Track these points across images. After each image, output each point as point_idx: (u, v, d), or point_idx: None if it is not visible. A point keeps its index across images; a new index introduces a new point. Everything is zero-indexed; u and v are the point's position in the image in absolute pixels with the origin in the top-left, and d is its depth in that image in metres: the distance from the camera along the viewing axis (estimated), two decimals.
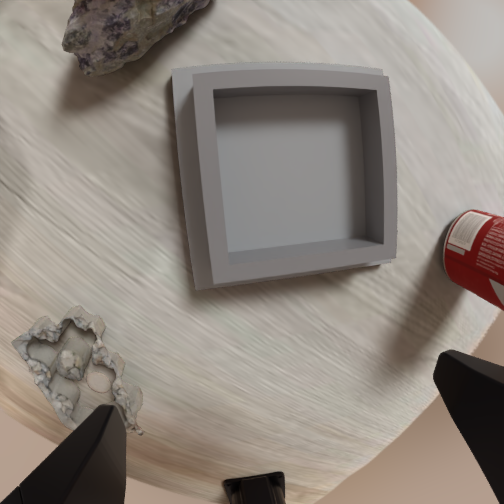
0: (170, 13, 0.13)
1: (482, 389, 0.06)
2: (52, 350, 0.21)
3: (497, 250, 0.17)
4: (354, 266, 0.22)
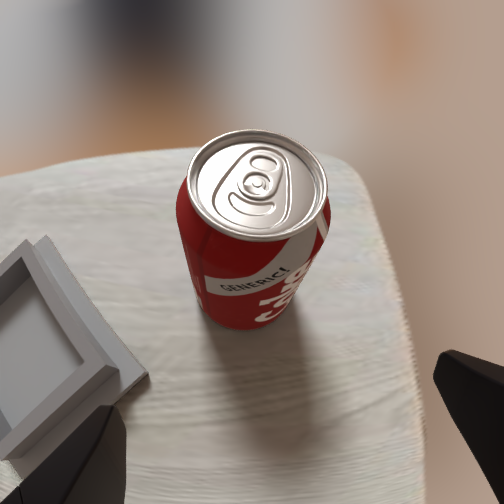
0: None
1: (482, 389, 0.06)
2: None
3: (186, 258, 0.16)
4: (110, 399, 0.17)
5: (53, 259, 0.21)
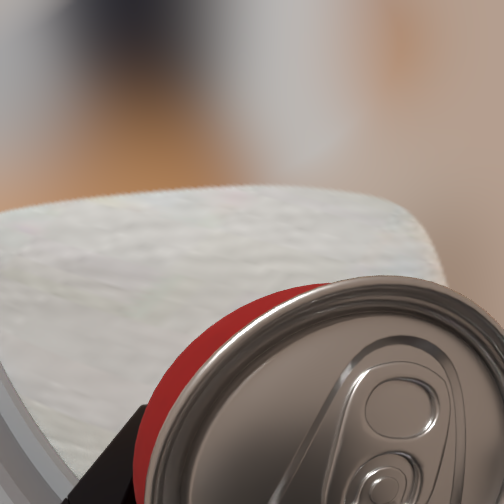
0: None
1: None
2: None
3: None
4: None
5: None
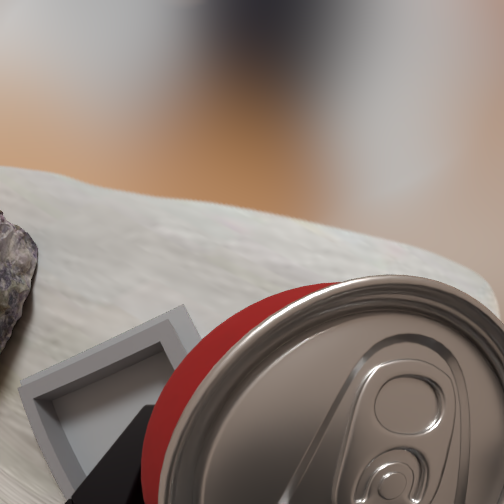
0: None
1: None
2: None
3: None
4: None
5: (193, 342, 0.20)
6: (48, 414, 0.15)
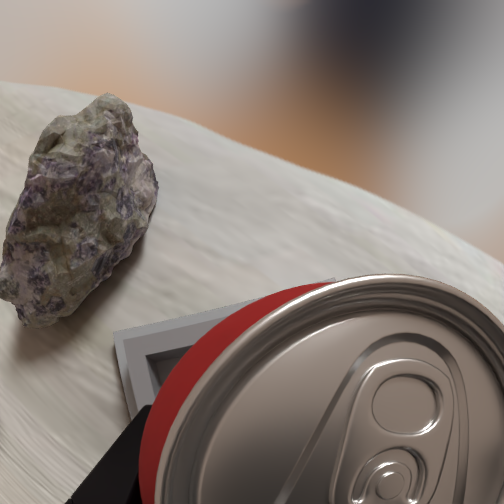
0: (87, 267, 0.16)
1: None
2: None
3: None
4: None
5: None
6: (155, 377, 0.15)
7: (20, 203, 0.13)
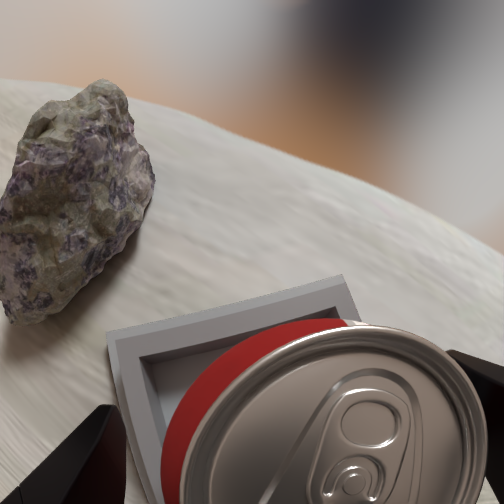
0: (76, 261, 0.15)
1: (482, 389, 0.06)
2: None
3: None
4: None
5: None
6: (150, 381, 0.14)
7: (7, 191, 0.11)
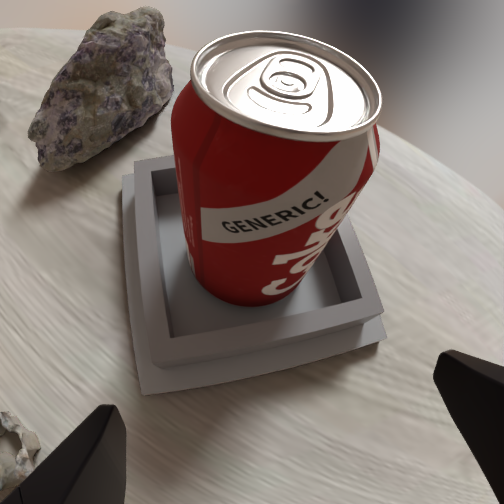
0: (109, 117, 0.19)
1: (482, 389, 0.06)
2: None
3: None
4: (341, 350, 0.17)
5: None
6: (154, 198, 0.18)
7: (71, 58, 0.15)
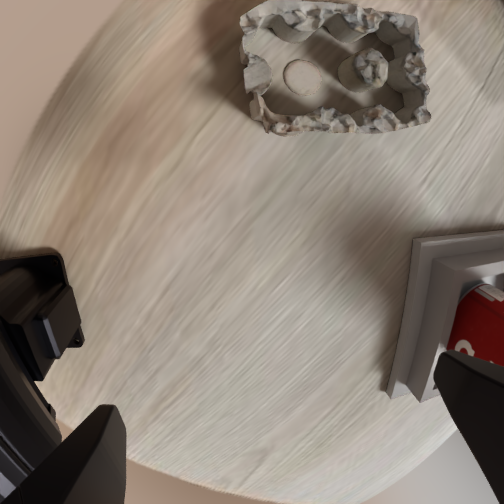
0: None
1: (482, 389, 0.06)
2: (356, 40, 0.15)
3: None
4: (399, 372, 0.23)
5: None
6: None
7: None
